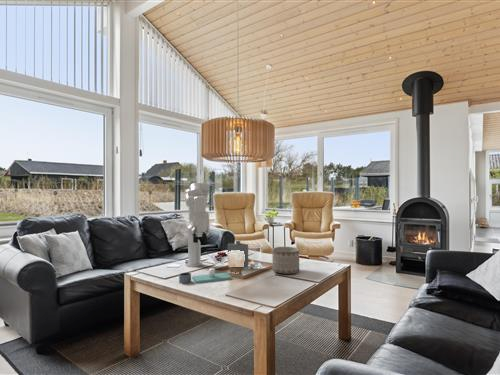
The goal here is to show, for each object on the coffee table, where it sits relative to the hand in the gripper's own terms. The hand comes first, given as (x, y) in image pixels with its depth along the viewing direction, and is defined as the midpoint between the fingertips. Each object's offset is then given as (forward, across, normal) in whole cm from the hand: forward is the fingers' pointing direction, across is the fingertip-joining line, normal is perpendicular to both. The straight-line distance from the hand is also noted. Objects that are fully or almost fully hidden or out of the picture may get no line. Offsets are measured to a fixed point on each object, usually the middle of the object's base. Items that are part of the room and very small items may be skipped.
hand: (200, 241), depth 210 cm
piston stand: (+26, -9, +3) cm, 28 cm away
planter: (+26, -46, +42) cm, 68 cm away
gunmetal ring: (+26, +4, -9) cm, 28 cm away
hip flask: (+26, -44, +4) cm, 52 cm away
